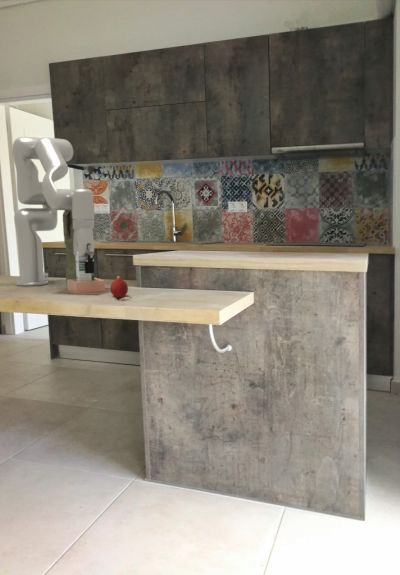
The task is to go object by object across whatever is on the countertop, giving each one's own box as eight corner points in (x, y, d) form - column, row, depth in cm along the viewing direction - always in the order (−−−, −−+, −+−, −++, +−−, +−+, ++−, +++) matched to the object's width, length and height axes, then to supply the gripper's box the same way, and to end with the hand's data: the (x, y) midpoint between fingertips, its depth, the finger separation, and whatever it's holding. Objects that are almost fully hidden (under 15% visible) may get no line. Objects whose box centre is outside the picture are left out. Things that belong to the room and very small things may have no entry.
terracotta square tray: (67, 290, 196) (67, 279, 195) (95, 288, 201) (94, 277, 201) (76, 293, 187) (75, 282, 186) (105, 291, 192) (104, 280, 192)
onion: (120, 297, 185) (119, 274, 184) (131, 299, 182) (131, 275, 181) (107, 299, 181) (106, 276, 180) (118, 301, 177) (118, 277, 176)
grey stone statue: (59, 288, 211) (55, 198, 206) (76, 284, 222) (72, 199, 217) (78, 289, 208) (74, 198, 203) (94, 285, 219) (91, 198, 214)
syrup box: (78, 292, 191) (77, 251, 189) (76, 290, 196) (75, 250, 194) (94, 291, 193) (93, 251, 191) (92, 289, 198) (90, 250, 196)
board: (75, 290, 205) (75, 287, 205) (119, 291, 201) (119, 288, 200) (51, 297, 188) (51, 293, 188) (98, 298, 183) (97, 295, 183)
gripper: (66, 224, 196) (68, 270, 199) (80, 224, 182) (82, 274, 184) (85, 223, 200) (87, 269, 203) (101, 224, 185) (103, 273, 188)
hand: (85, 271), depth 193 cm, fingers open, 9 cm apart
